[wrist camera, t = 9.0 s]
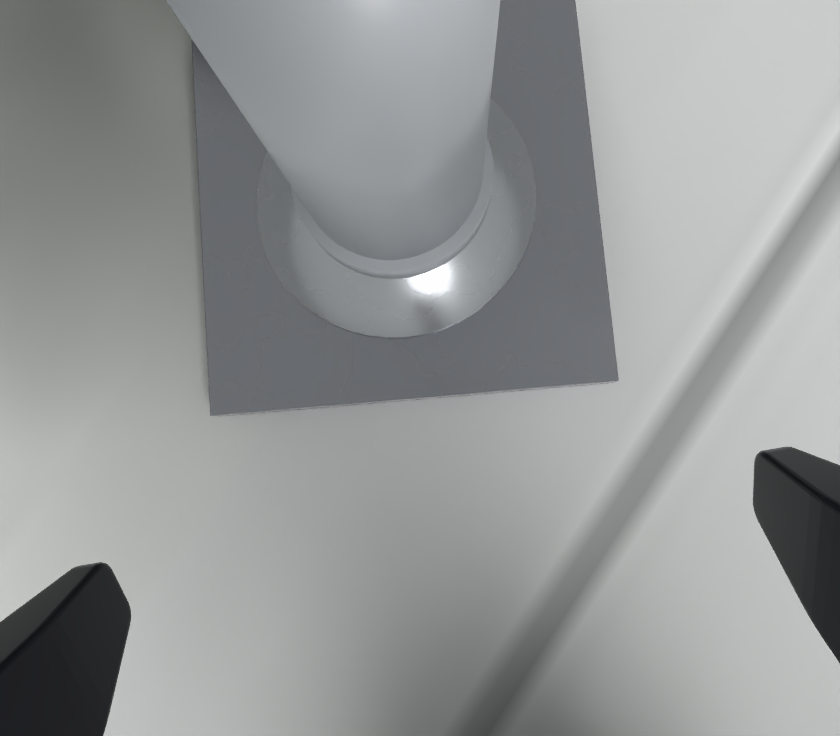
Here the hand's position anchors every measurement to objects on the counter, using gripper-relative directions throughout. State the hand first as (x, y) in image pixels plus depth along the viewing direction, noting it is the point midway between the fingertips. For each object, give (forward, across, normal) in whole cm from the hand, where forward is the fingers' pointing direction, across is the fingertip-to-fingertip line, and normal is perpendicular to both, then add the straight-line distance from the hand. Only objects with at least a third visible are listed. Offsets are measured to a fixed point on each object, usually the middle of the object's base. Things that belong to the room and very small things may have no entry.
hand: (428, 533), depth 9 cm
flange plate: (+14, 0, -2) cm, 14 cm away
